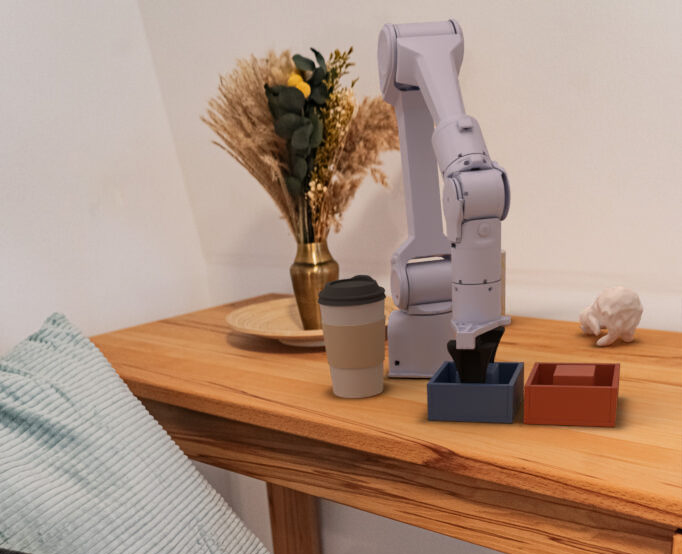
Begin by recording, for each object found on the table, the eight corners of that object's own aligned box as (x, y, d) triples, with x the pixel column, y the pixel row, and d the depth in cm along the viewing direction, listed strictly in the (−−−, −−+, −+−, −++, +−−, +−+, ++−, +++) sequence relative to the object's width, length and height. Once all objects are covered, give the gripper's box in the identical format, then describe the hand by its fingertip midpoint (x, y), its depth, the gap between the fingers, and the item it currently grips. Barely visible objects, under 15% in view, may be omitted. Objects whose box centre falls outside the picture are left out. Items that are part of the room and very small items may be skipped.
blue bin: (427, 420, 102) (426, 383, 100) (445, 394, 111) (444, 360, 109) (512, 423, 99) (512, 385, 97) (523, 397, 108) (524, 361, 106)
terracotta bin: (523, 423, 98) (524, 385, 96) (534, 397, 107) (535, 362, 105) (614, 427, 95) (617, 388, 93) (617, 399, 104) (620, 363, 102)
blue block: (456, 408, 103) (455, 372, 101) (463, 397, 107) (462, 362, 105) (492, 409, 102) (492, 373, 100) (498, 398, 106) (498, 363, 104)
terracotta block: (552, 411, 100) (553, 375, 98) (555, 400, 104) (557, 364, 102) (591, 413, 98) (593, 375, 96) (593, 401, 102) (595, 365, 100)
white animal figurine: (608, 290, 121) (567, 285, 132) (608, 349, 124) (567, 340, 135) (647, 284, 122) (603, 280, 133) (646, 343, 125) (602, 335, 136)
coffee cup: (369, 403, 110) (362, 287, 103) (312, 396, 114) (302, 285, 108) (402, 384, 116) (397, 274, 110) (347, 378, 121) (340, 272, 115)
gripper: (500, 292, 91) (500, 411, 96) (519, 268, 103) (517, 376, 109) (437, 292, 93) (440, 409, 99) (462, 270, 105) (463, 375, 111)
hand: (477, 392), depth 104 cm, fingers closed on blue block, 4 cm apart
